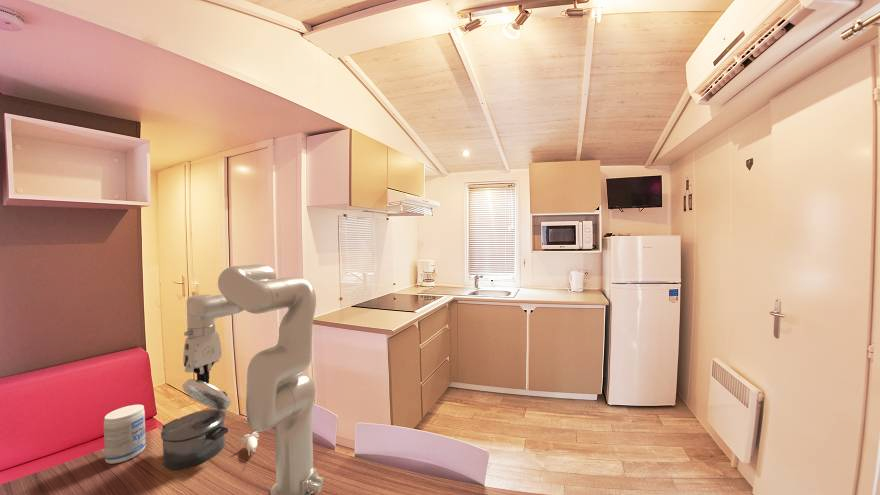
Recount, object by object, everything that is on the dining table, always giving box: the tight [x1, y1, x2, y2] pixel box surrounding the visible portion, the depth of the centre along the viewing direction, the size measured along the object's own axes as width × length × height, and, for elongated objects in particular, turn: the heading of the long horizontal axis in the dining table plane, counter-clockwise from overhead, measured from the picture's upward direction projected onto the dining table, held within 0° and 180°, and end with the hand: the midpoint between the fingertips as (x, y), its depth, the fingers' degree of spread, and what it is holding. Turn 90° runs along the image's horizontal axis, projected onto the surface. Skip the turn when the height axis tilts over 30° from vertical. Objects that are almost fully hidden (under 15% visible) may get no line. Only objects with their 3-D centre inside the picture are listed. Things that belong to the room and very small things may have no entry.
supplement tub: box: [103, 404, 147, 465], centre depth 101 cm, size 10×10×15 cm
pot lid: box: [182, 378, 232, 411], centre depth 107 cm, size 17×17×3 cm
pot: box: [160, 408, 229, 471], centre depth 102 cm, size 23×18×10 cm
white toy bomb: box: [241, 431, 260, 456], centre depth 101 cm, size 12×5×5 cm, turn 37°
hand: (203, 383), depth 105 cm, fingers closed
